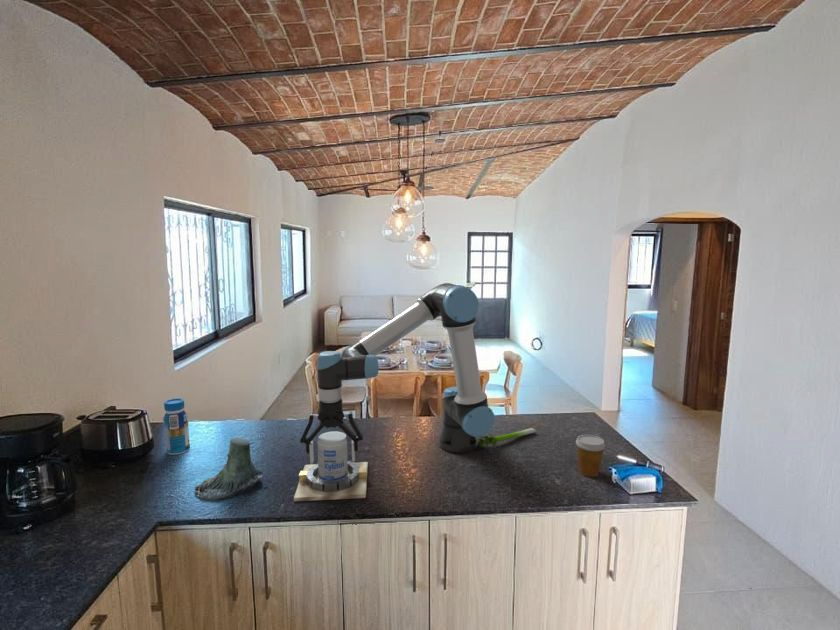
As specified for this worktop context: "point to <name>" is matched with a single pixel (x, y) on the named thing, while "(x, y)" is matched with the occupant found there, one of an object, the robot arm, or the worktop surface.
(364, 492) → the base plate
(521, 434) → the leek
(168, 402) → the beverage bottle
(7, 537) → the worktop surface
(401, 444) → the worktop surface
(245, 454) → the tree stump
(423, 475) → the worktop surface
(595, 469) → the disposable coffee cup
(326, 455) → the supplement tub
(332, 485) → the ring
